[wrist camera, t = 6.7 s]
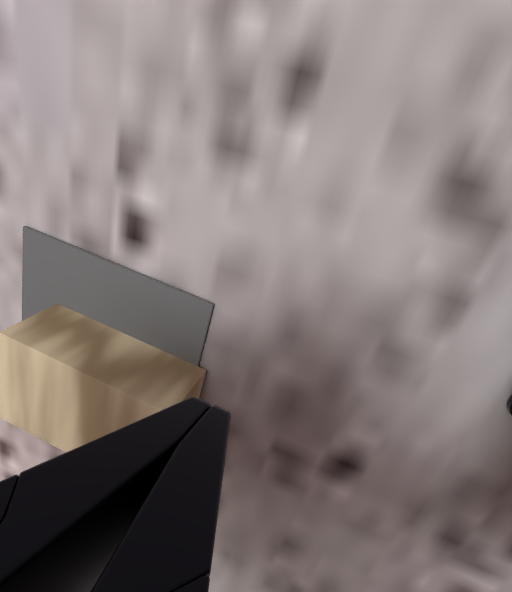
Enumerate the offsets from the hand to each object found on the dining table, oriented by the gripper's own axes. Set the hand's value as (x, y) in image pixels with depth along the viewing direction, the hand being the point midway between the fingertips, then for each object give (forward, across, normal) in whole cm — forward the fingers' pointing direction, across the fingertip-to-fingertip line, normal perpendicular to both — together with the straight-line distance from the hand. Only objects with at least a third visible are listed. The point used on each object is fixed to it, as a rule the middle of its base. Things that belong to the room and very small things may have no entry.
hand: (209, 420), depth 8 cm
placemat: (+12, +11, +11) cm, 19 cm away
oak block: (+10, +4, +11) cm, 15 cm away
